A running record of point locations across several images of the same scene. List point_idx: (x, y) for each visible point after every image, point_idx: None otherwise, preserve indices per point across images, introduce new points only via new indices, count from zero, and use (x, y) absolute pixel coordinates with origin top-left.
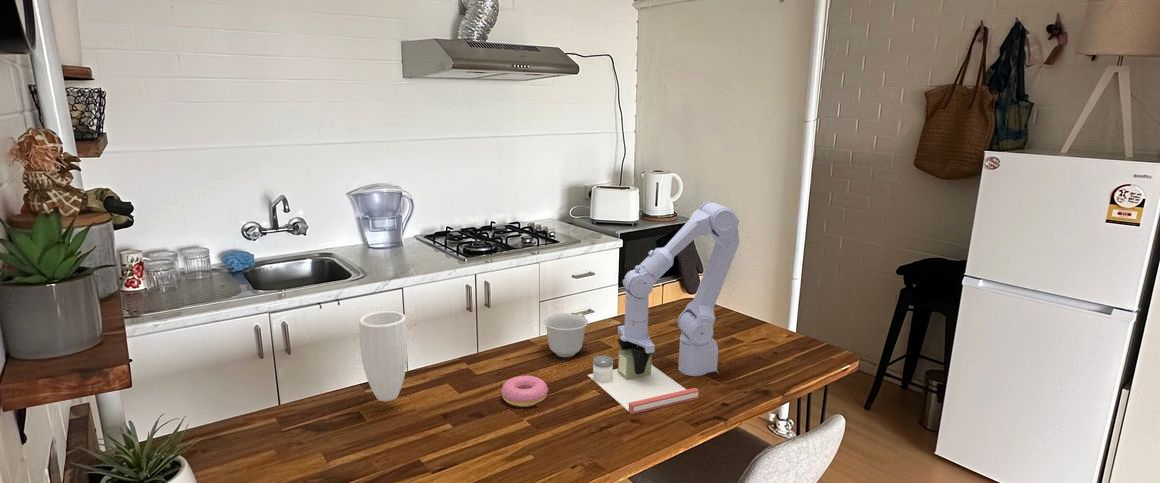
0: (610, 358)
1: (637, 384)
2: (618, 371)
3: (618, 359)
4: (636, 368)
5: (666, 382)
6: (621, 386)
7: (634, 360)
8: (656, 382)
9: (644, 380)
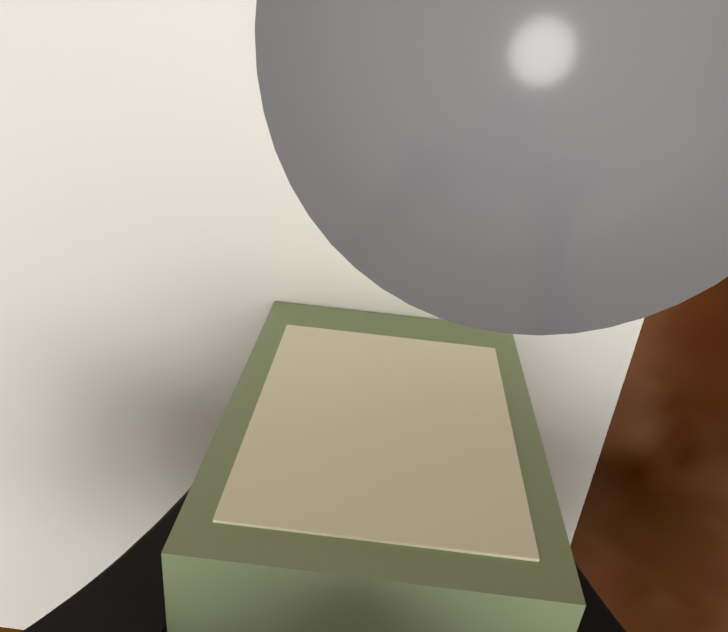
0: (493, 278)
1: (110, 335)
2: (501, 339)
3: (541, 457)
4: (183, 497)
5: (57, 575)
6: (126, 124)
7: (162, 587)
8: (87, 512)
9: (176, 451)
